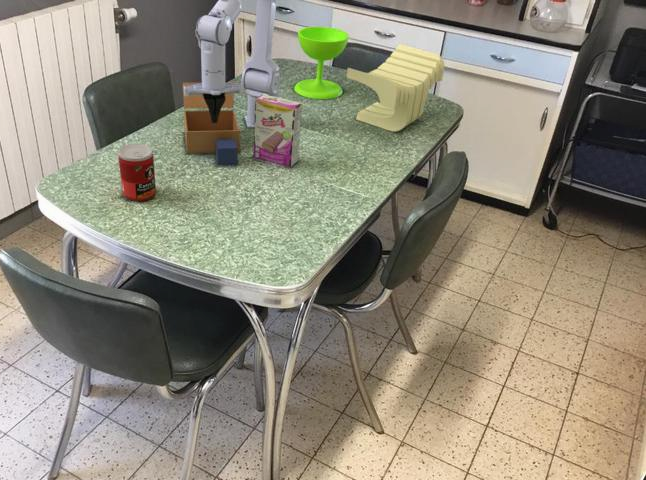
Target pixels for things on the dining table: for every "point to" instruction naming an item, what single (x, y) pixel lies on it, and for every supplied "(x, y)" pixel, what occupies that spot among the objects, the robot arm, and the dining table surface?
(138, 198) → the canned food
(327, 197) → the dining table surface
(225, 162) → the cube
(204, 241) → the dining table surface
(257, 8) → the robot arm
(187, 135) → the carton
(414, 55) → the slatted curved stool
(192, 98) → the flap
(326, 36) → the wineglass
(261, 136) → the candy bar box
